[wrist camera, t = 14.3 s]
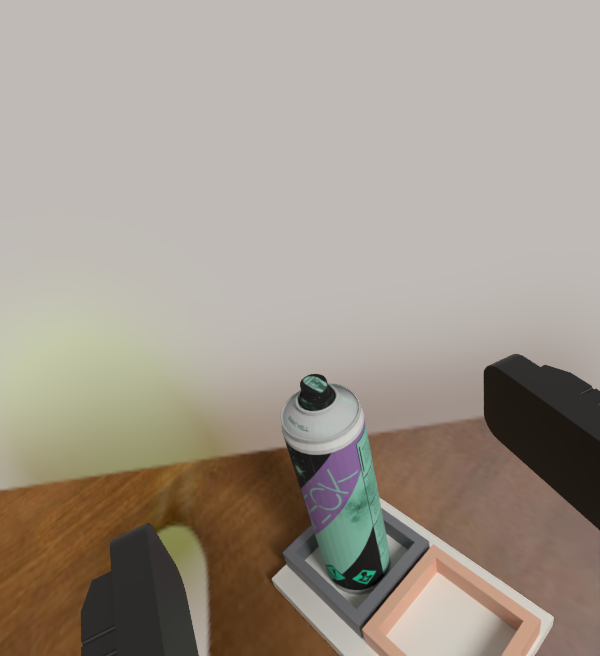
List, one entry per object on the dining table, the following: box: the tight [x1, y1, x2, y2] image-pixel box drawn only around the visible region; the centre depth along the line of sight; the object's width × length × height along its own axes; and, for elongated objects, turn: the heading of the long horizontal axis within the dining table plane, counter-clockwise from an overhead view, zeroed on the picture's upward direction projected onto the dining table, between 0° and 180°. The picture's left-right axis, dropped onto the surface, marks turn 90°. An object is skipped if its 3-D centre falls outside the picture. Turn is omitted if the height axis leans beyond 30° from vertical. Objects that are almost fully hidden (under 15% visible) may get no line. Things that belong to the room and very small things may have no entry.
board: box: [271, 498, 554, 656], centre depth 38 cm, size 12×18×3 cm, turn 42°
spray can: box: [281, 374, 391, 595], centre depth 36 cm, size 6×6×20 cm
